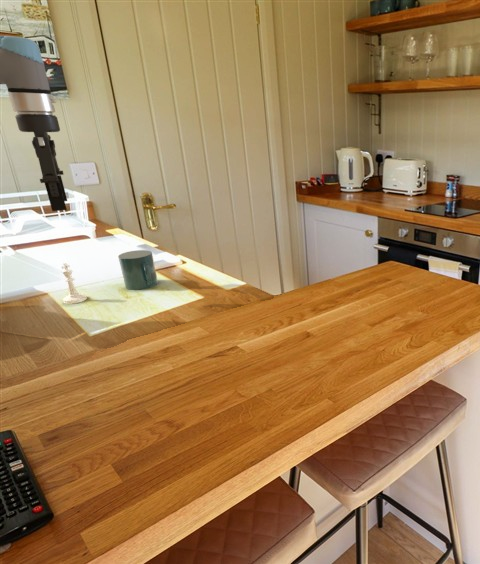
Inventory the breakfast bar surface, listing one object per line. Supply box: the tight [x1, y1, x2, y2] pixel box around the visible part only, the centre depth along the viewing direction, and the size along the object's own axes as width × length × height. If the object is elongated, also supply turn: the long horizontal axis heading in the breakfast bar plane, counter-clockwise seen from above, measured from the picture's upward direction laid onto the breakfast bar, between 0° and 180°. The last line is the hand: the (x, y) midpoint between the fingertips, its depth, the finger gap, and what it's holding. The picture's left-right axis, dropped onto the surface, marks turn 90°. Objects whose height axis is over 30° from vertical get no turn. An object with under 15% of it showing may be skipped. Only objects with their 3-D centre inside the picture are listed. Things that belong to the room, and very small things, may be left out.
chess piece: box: [61, 262, 88, 305], centre depth 107 cm, size 5×5×10 cm
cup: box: [117, 249, 159, 291], centre depth 118 cm, size 10×8×9 cm
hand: (60, 205), depth 105 cm, fingers open, 13 cm apart
